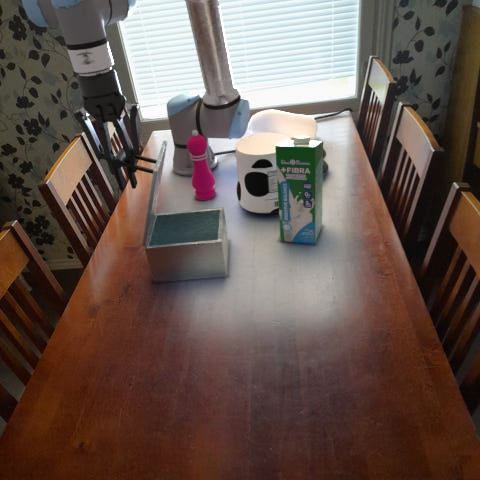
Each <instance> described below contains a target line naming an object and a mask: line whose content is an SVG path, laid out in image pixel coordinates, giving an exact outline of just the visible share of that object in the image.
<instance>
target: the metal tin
mask: <svg viewBox="0 0 480 480" xmlns="http://www.w3.org/2000/svg"><path fill="white" fill-rule="evenodd" d="M144 252H145V256H146V259H147V262H148V263H147V264H148V266H149V269H150V273H151V276H152V279H153V282H154V283H165V282H166V283H167V282H179V281H189V280H201V279H212V278H213V279H214V278H223V277H224V278H225V277H228V265H229V264H228V262H229V260H228V259H229V235H228V227H227V221H226V215H225V208H224V207H212V208H202V209H193V210H182V211H171V212H160V213H155V216H154V219H153V223H152V226H151V230H150V233H149V237H148V240H147V244H146V247H144Z"/></svg>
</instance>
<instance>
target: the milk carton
mask: <svg viewBox="0 0 480 480" xmlns="http://www.w3.org/2000/svg"><path fill="white" fill-rule="evenodd" d="M323 148H324V141H323V140H314V141H310V136H294V137H293V140H286V141H284V142H282V143H280V144H278V145H277V146H275V149H276V167H277V185H278V203H279V212H278V221H279V237H280V238H279V239H280V242H287V243H288V242H289V243H298V244H309V245H316V242H317V240H318V237H319V234H320V231H321V229H322V226H323V186H324V185H323V181H324V174H323Z"/></svg>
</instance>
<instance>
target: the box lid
mask: <svg viewBox="0 0 480 480" xmlns="http://www.w3.org/2000/svg"><path fill="white" fill-rule="evenodd" d="M167 145H168V141H167V140H163V141H162V145H161V146H160V150H159V152H158V156H157V159H154V158H152V157H151V158H150V157H147V156H144V155H140V154H139V155H136V156H135V159H136V160H139V161H142V162H146V163H150V164H154V167H153V169H152V168H149V167H145V166H141V165H138V164H137V165H134V164H130V163H126V162H124V159H125V157H126V154H125V152H124V149H123V147H120V148H119V149H118V151H117V153H116V154H115V156H116V157H115V156H114V157H115V159H114V161H113V165H114V166H115V167H116V168H121V169H122V168H123V167H124V168H126V167H128V168H132V169H136V170H137V171H141V172H144V173H147V174H148V173H149V174H152V176H151V177H152V178H151V184H150V189H149V196H148V197H149V198H148V204H147V210H146V217H145V223H144V231H143V236H142V242H141V246H142V247H144V248H145V247H146V244H147V240H148V237H149V233H150V230H151V226H152V223H153V219H154V216H155V214H156V212H157V207H158V200H159V194H160V187H161V183H162V176H163V171H164V170H163V169H164V163H165V159H166V152H167Z"/></svg>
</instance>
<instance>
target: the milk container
mask: <svg viewBox="0 0 480 480" xmlns="http://www.w3.org/2000/svg"><path fill="white" fill-rule="evenodd" d="M286 140H291V138H290V137H288V136H287V135H284V134H281V133H272V132H271V133H259V134H253V135H252V134H251V135H248V136H244V137H242V138H240V139H239V140H238V141H237V142H236V144H235V150H236V153H235V164H236V170H237V183H236V198H237V201H238V204H239V205H240V206H241V207H242V209H243V210H245V211H247V212H249V213H251V214H256V215H272V214H277V213H278V214H279V203H278V185H277V167H276V149H275V146H277V145H278V144H280V143H282V142H284V141H286Z"/></svg>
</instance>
